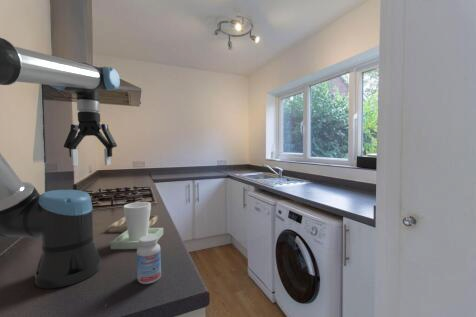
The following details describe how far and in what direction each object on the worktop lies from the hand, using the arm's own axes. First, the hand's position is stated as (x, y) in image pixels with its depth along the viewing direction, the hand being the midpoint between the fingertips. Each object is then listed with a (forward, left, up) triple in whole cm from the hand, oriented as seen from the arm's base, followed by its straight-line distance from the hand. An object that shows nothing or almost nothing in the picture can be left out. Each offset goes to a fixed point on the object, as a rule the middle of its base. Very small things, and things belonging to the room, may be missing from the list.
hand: (91, 165), depth 92 cm
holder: (+11, -12, -29) cm, 33 cm away
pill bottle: (-31, -35, -29) cm, 55 cm away
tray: (-6, -21, -29) cm, 36 cm away
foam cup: (-6, -21, -28) cm, 35 cm away
